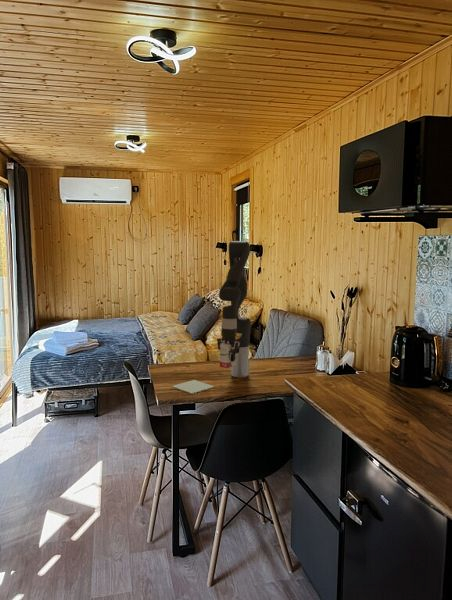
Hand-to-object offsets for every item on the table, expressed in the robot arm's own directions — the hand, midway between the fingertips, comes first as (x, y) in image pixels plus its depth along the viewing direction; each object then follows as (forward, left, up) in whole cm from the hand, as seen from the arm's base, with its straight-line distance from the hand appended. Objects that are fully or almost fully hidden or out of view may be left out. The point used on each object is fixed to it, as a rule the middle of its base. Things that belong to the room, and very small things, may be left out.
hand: (228, 360), depth 234 cm
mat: (+9, -15, -16) cm, 24 cm away
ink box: (0, 0, -3) cm, 3 cm away
